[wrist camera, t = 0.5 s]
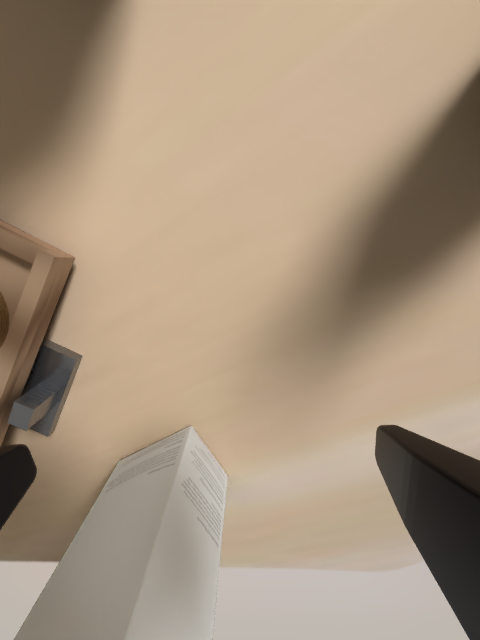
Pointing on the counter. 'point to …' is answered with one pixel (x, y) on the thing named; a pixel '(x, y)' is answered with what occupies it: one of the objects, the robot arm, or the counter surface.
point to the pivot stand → (45, 389)
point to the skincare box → (142, 552)
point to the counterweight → (3, 319)
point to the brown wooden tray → (26, 306)
